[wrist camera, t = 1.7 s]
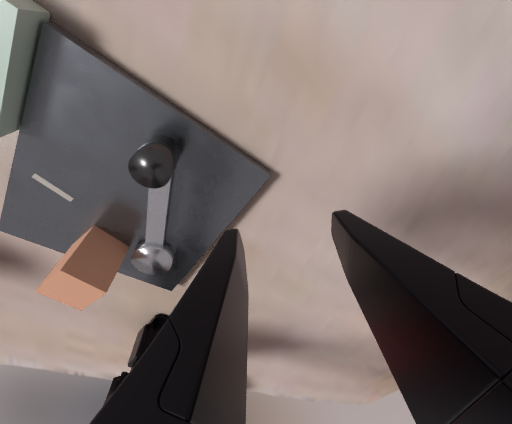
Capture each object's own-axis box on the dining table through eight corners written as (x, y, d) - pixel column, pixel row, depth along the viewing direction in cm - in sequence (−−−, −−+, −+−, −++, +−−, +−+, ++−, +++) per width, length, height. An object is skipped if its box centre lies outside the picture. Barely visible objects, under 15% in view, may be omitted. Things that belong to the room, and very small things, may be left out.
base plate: (269, 170, 20) (270, 175, 19) (173, 283, 28) (171, 291, 27) (54, 23, 14) (42, 21, 13) (7, 222, 21) (-3, 230, 20)
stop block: (129, 247, 22) (106, 292, 18) (107, 264, 24) (80, 310, 20) (94, 225, 21) (60, 270, 17) (72, 244, 22) (34, 291, 18)
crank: (171, 269, 24) (163, 300, 22) (134, 263, 24) (119, 295, 21) (192, 138, 17) (183, 160, 14) (138, 124, 16) (116, 143, 13)
